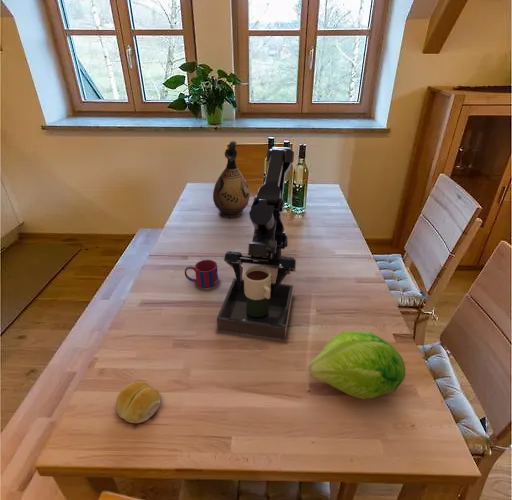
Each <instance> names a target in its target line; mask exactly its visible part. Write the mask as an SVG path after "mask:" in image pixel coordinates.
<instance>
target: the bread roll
mask: <svg viewBox="0 0 512 500" xmlns="http://www.w3.org/2000/svg"><path fill="white" fill-rule="evenodd" d="M161 398H162V395H161V393H160V391H159V390H158V389H156V388H154V387H151V386H150V385H149V384H148V383H147V382H145V381H139V380H138V381H133V382H131V383H129V384H127V385H125V386H124V387H123V388H121V390H120V391H119V393H118V394H117V396H116V400H115V401H116V403H115V408H116V409H115V410H116V412H117V414H118V416H119V418H121V419H123V420H124V421H126V422H128V423H131V424H141V423H143V422H146V421H148V420H149V419H150V418H151V417H152V416H153V415H155V413H156V412H157V411H158V410H159V408H160V407H161Z"/></svg>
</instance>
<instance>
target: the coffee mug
mask: <svg viewBox="0 0 512 500" xmlns="http://www.w3.org/2000/svg"><path fill="white" fill-rule="evenodd" d="M243 280H244V293H245V295H246V297H248V298H247V305H246V312H247V314H248V315H249V316H252V317H261V316H264V315H266V314H268V311H269V306H268V299H269V298H270V292H271V287H270V286H271V283H272V271H271V269H269V268H268V267H266V266H263V265H254V266H249V267H247V268H246V269H245V270H244V272H243Z"/></svg>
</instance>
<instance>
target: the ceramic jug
mask: <svg viewBox="0 0 512 500" xmlns="http://www.w3.org/2000/svg"><path fill="white" fill-rule="evenodd" d="M236 147H237V141H235V140H232V141H230V142H229V144H228V148H226V149H225V150H224V157H225V158H226V159H227V163H226V167H225V168H224V169H223V171H222V172H221V173H220V175H219V177H218V178H217V180H216V182H215V184H214V187H213V192H212V200H213V203H214V205H215V207H216V208H217V210H218V211H219V213H220V216H222V217H224V218H228V219H231V218H238V217H239V216H241V215H242V212H243V211H244V210H245V209H246V208H247V206H248V205H249V201H250V198H251V197H250V196H251V195H250V189H249V184H248V183H247V180H246V178H245V177H244V175H243V174H242V172H241V171H240V170H239V168H238V166H237V163H236V159H237V156H238V151H237V150H236Z"/></svg>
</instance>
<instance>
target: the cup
mask: <svg viewBox="0 0 512 500" xmlns="http://www.w3.org/2000/svg"><path fill="white" fill-rule="evenodd" d="M188 270H193V271H194V272H195V273H194V274H195V278H193V277H190V276H189V275H188V273H187V271H188ZM218 271H219V269H218V263H217V262H216V261H214V260H212V259H202V260H199V261H198V262H196V263H195V264H194V266H186V267H185V269H184V276H185V279H187V280H188V281H190V282H193V283H196V285H197V286H198V287H199V288H202V289H212V288H215V287H216V286H217V285H218V284H219V273H218Z"/></svg>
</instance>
